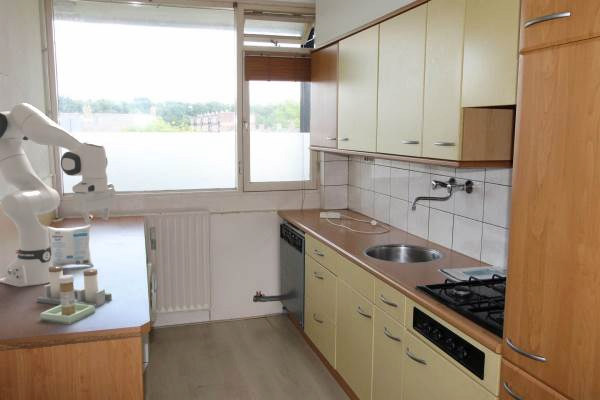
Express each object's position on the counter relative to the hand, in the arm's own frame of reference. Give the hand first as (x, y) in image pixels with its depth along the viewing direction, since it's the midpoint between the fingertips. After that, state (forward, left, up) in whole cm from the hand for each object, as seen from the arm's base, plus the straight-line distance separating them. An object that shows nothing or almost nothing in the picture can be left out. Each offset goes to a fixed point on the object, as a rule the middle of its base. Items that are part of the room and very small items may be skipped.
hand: (96, 221), depth 201 cm
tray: (+6, -24, -29) cm, 38 cm away
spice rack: (-4, -10, -29) cm, 31 cm away
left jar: (-12, -10, -29) cm, 33 cm away
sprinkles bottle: (+6, -24, -28) cm, 37 cm away
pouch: (-40, +29, -29) cm, 57 cm away
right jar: (+4, -10, -29) cm, 31 cm away
